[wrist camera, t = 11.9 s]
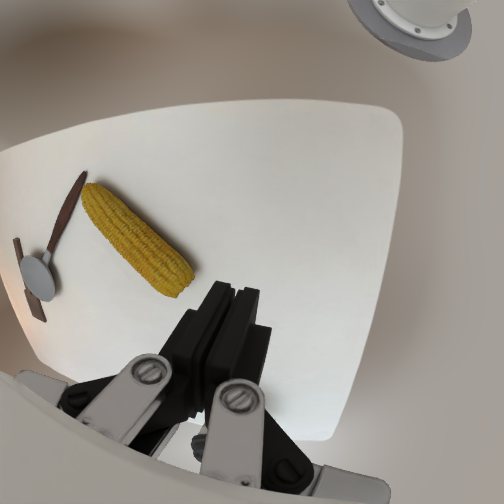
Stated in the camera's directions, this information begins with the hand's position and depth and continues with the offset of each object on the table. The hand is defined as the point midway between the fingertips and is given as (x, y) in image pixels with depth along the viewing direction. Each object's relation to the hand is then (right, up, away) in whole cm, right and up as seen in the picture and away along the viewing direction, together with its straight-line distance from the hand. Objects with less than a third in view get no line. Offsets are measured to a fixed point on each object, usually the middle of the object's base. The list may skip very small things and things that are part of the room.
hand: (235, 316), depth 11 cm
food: (-15, +6, +29) cm, 33 cm away
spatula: (-52, -4, +41) cm, 67 cm away
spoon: (-35, +5, +33) cm, 49 cm away
